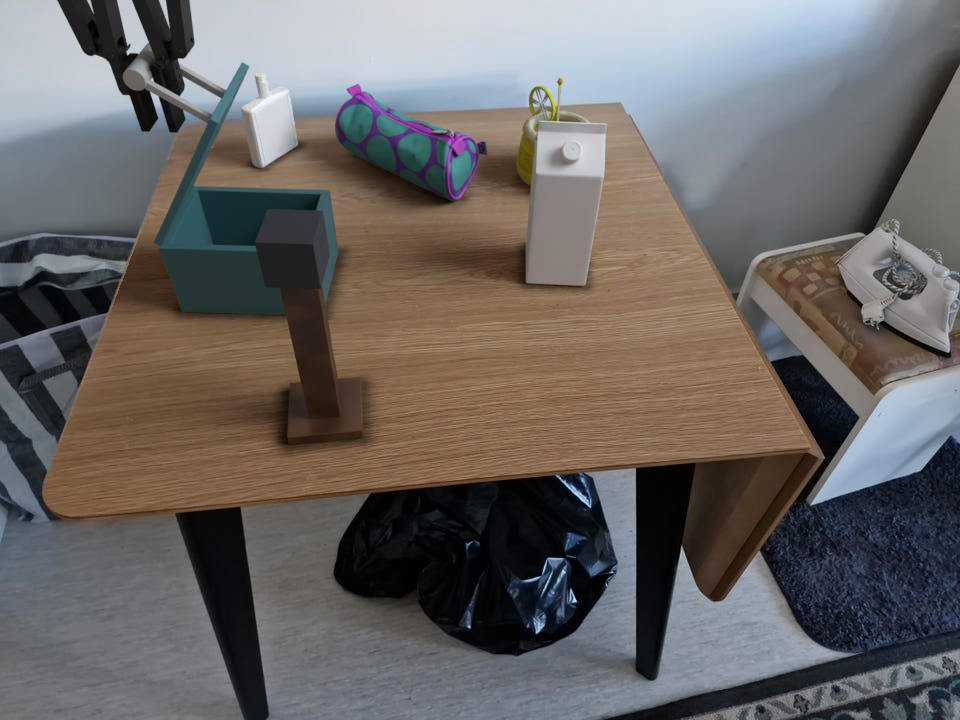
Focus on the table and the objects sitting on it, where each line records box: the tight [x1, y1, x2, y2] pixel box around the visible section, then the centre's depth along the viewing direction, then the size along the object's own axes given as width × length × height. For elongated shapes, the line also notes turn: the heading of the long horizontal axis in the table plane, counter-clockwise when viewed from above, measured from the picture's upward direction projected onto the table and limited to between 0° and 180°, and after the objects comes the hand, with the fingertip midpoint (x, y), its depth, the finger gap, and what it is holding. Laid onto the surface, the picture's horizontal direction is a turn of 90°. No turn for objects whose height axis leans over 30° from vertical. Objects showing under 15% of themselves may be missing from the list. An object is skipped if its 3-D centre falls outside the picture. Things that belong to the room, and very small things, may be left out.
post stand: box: [280, 287, 364, 446], centre depth 65 cm, size 7×7×18 cm
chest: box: [158, 185, 340, 316], centre depth 82 cm, size 16×12×9 cm
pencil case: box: [334, 83, 488, 202], centre depth 99 cm, size 21×9×10 cm, turn 54°
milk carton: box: [525, 121, 608, 287], centre depth 82 cm, size 7×7×19 cm
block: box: [255, 209, 330, 289], centre depth 57 cm, size 4×4×4 cm
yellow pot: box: [516, 77, 591, 187], centre depth 99 cm, size 13×11×12 cm
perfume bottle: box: [240, 71, 299, 169], centre depth 101 cm, size 8×2×12 cm, turn 149°
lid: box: [123, 42, 250, 247], centre depth 72 cm, size 17×12×9 cm
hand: (163, 124), depth 71 cm, fingers closed on lid, 2 cm apart
